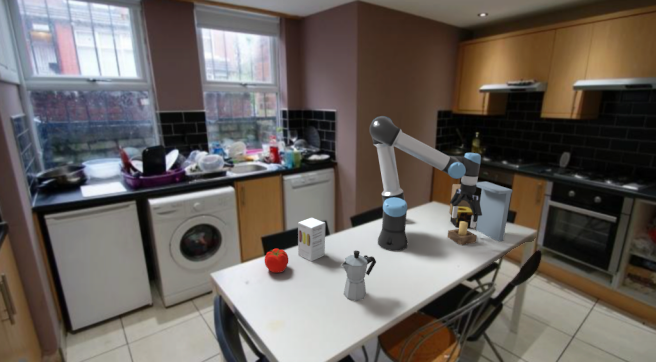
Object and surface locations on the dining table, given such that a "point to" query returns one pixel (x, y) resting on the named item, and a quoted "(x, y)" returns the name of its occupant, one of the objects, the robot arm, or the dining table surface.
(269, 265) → the tomato
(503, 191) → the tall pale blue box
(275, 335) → the dining table surface
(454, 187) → the wooden block
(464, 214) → the yellow black tissue box
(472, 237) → the socket block
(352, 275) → the coffee maker
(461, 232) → the peg
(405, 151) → the robot arm
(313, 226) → the supplement box
